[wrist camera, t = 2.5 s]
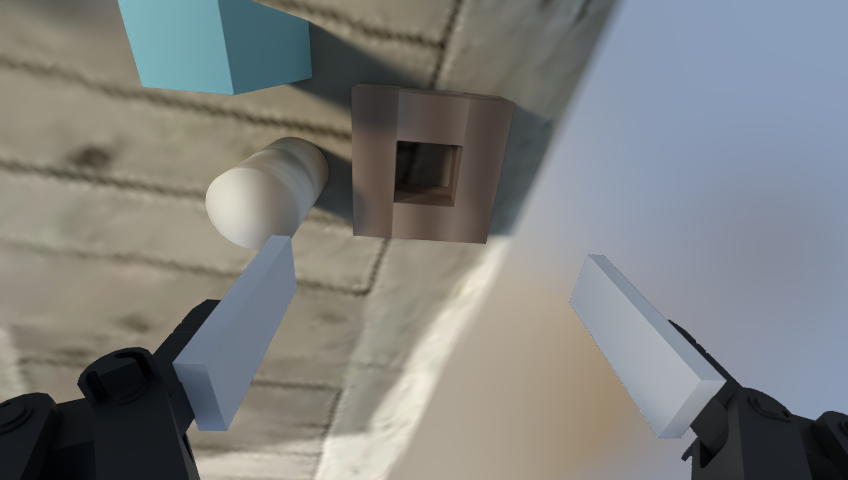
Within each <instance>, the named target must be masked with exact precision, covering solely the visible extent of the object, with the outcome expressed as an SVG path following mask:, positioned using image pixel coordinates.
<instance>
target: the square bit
mask: <svg viewBox="0 0 848 480" xmlns="http://www.w3.org/2000/svg"><path fill="white" fill-rule="evenodd" d="M117 1H118V4H119V7H120V11H121V14H122V18H123V21H124V25H125V28H126V31H127V35H128V38H129V42H130V45H131V48H132V52H133V55H134V59H135V62H136V66H137V69H138V72H139V76H140V79H141V83H142V86H143V87H153V88H164V89H174V90H185V91H196V92H207V93H218V94H228V95H236V94H241V93H246V92H250V91H255V90H259V89H264V88H269V87H273V86H278V85H282V84H287V83H292V82H296V81H301V80H305V79H310V78H312V66H311V51H310V36H309V21H307V20H304V19H302V18H299V17H296V16H293V15H290V14H287V13H285V12H282V11H279V10H276V9H273V8H270V7H267V6H265V5H262V4H259V3H256V2H253V1H250V0H117Z"/></svg>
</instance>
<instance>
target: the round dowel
mask: <svg viewBox="0 0 848 480" xmlns="http://www.w3.org/2000/svg"><path fill="white" fill-rule="evenodd" d="M328 178H329V168H328V164H327V161H326V159H325V157H324V155H323V154H322V153H321V151H320V150H319V149H318V148H317V147H316V146H315V145H313V144H312V143H310V142H308V141H306V140H304V139H301V138H297V137H285V138H281V139H279V140H277V141H275V142H273V143H272V144H270V145H269V146H267V147H265V148H264V149H262V150H261V151H259V152H257V153H256V154H254V155H253V156H251V157H249V158H248V159H246V160H244V161H243V162H241V163H240V164H238V165H236V166H235V167H233V168H232V169H230V170H228V171H227V172H225V173H224V174H222V175H220V176H219V177H217V178H216V179H215V180H214V181H213V182H212V184H211V185H210V187H209V189H208V191H207V194H206V208H207V212H208V215H209V217H210V219H211V221H212V223H213V225H214V226H215V227H216V228H217V230H218V231H219V232H220V233H221V234H222V235H223V236H225V237H226V238H227V239H228V240H230V241H231V242H233V243H235V244H237V245H239V246H241V247H244V248H247V249H252V250H259V251H260V250H261V249H262V247H263V246H264V245H265V243H266V242H267V241H268V239H269V238H270V237H271V236H272V235H279V236H291V238H292V237H293V235H294V234H295V232H296V231H297V229H298V228H299V226H300V225H301V223H302V222H303V220H304V219H305V217H306V215H307V214H308V212H309V211H310V209H311V208H312V206H313V205H314V203H315V202H316V200H317V199H318V197H319V196H320V194H321V193H322V191H323V190H324V188H325V186H326V184H327V182H328Z"/></svg>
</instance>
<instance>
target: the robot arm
mask: <svg viewBox="0 0 848 480" xmlns="http://www.w3.org/2000/svg"><path fill="white" fill-rule="evenodd" d="M296 289H297V286H296V278H295V269H294V261H293V252H292V244H291V236H279V235H272V236H271V237H270V238H269V239H268V241H267V242H266V243H265V245H264V246H263V247H262V249H261V250H260V251H259V252H258V254H257V255H256V256H255V258H254V259H253V260H252V261H251V263H250V264H249V265H248V267H247V268H246V269H245V270H244V272H243V273H242V274H241V276H240V277H239V278H238V279H237V281H236V282H235V283H234V285H233V286H232V287H231V288H230V290H229V291H228V292H227V294H226V295H225V296H224V297H223V299H222V300H210V299H207V300H205V301H204V302H202V303H201V304H199V305H198V306H196V307H195V308H193V309H192V310H191V311H190V312H189V313H188V314H187V316H186V317H185V318H184V319H183V320H182V323H180V324H179V325H178V326H177V327H176V328H175V330H174V331H173V333H171V334H170V335H169V336H168V338H167V339H166V340H165V341H164V342H163V343H162V345H161V346H160V347H159V348H158V349H157V350H156V351H155V353H154V354H153V355H152V354H151V353H150V352H149V350H147V349H144V348H141V347H132V348H125V349H121V350H117V351H114V352H111V353H109V354H107V355H105V356H103V357H101V358H99V359H98V360H96V361H95V362H93V363H92V364H90V365H89V366H88V367H87V368H86V369H85V370H84V371H83V373H82V374H81V375H80V377H79V380H78V383H77V385H78V386H79V388H80V390H81V391H82V393H83V394H84V396H85V397H86V398H82V399H77V400H73V401H68V402H64V403H59V404H56V403H55V402H54V400H53V399H52V398H51V397H50V396H49V395H48V394H46V393H39V392H36V393H30V394H23V395H20V396H18V397H15V398H12V399H9V400H6V401H4V402H3V403H1V404H0V480H200V477H199V474H198V470H197V467H196V463H195V460H194V457H193V453H192V450H191V446H190V443H189V439H188V437H187V434H186V431H187V429H188V428H189V426H190V424H191V423H192V421H193V419H195V421H196V424H197V426H198V429H199V430H211V431H227V430H228V428H229V426H230V424H231V422H232V420H233V418H234V416H235V414H236V412H237V409H238V407H239V405H240V403H241V401H242V399H243V397H244V395H245V393H246V391H247V389H248V387H249V385H250V383H251V381H252V379H253V377H254V375H255V373H256V371H257V369H258V367H259V365H260V363H261V360H262V358H263V356H264V354H265V352H266V350H267V348H268V346H269V344H270V342H271V340H272V338H273V336H274V334H275V332H276V330H277V328H278V326H279V324H280V322H281V320H282V318H283V316H284V314H285V312H286V309H287V307H288V305H289V303H290V301H291V299H292V297H293V295H294V293H295V291H296ZM570 304H571V305H572V307H573V308H574V310H575V312H576V313H577V315H578V316H579V318H580V319H581V321H582V322H583V324H584V325H585V327H586V328H587V330H588V331H589V333H590V335H591V336H592V338H593V339H594V341H595V342H596V344H597V345H598V347H599V348H600V350H601V351H602V353H603V354H604V356H605V358H606V359H607V361H608V362H609V364H610V365H611V367H612V368H613V370H614V371H615V373H616V375H617V376H618V378H619V379H620V380H621V382H622V384H623V385H624V387H625V388H626V390H627V391H628V393H629V394H630V396H631V397H632V399H633V400H634V402H635V404H636V405H637V407H638V408H639V410H640V411H641V413H642V414H643V416H644V418H645V419H646V420H647V422H648V424H649V425H650V427H651V428H652V430H653V431H654V433H655V434H656V436H657V438H681V437H682V436H683V435H684V433H685V432H686V431H687V430H688V428H689V427H691V428H692V429H693V431H694V432H695V433H696V435H697V436H698V437H697V438H696V439H695V441H694V442H693V443H692V444H691V446H690V447H689V448H688V449H687V450H686V451H685V452H684V454H683V456H682V458H681V459H682V460H684V461H686V460H687V459H688V457H689V456H692V476H691V480H848V415H845V414H843V413H839V412H834V411H827V412H825V413H823V414H822V415H821V416H820V417H819V418H818V419H817V420H816V421H814V420H811V419H807V418H804V417H800V416H797V415H794V414H791V413H790V411H788V409H786V407H785V406H783V405H782V404H781V403H779V402H778V401H777V400H775V399H774V398H772V397H770V396H768V395H767V394H765V393H763V392H760V391H758V390H755V389H752V388H744V387H742V386H741V385H740V384H739V383H738V382H737V381H736V380H735V379H734V378H733V377H732V376H731V375H730V374H729V373H728V372H727V371H726V370H725V369H724V368H723V367H722V366H721V365H720V364H719V363H718V362H717V361H716V360H715V359H714V358H713V357H712V356H711V355H710V354H709V353H706V351H705V350H704V348H703V347H702V346H701V345H699V344H697V343H696V340H695V339H694V338H692V337H691V335H690V334H688V332H686V331H685V330H684V329H683V328H681V327H680V326H678V325H677V324H675V323H674V322H672V321H671V320H666V319H665V317H664V316H663V315H662V314H661V313H660V312H659V311H658V310H657V309H656V308H655V307H654V306H653V305H652V304H651V303H650V302H649V301H648V300H647V299H646V298H645V297H644V296H643V295H642V294H641V293H640V292H639V291H638V290H637V289H636V288H635V287H634V286H633V285H632V284H631V283H630V282H629V281H628V280H627V279H626V278H625V277H624V276H623V274H622V273H621V272H620V271H619V270H617V268H616V267H614V265H613V264H612V263H611V262H610V261H609V260H608V259H607V258H606V257H605V256H604V255H603V256H602V255H587V258H586V260H585V264H584V266H583V268H582V271H581V273H580V276H579V279H578V281H577V284H576V286H575V289H574V291H573V294H572V297H571V299H570Z"/></svg>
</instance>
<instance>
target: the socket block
mask: <svg viewBox="0 0 848 480" xmlns="http://www.w3.org/2000/svg"><path fill="white" fill-rule="evenodd" d="M351 103H352V178H353V236H369V237H385V238H401V239H417V240H433V241H448V242H464V243H480V244H486V241H487V236H488V231H489V226H490V222H491V217H492V212H493V207H494V203H495V198H496V193H497V188H498V184H499V179H500V174H501V169H502V165H503V160H504V155H505V150H506V146H507V141H508V136H509V131H510V127H511V122H512V117H513V112H514V107H515V103H513V102H511V101H509V100H507V99H504V98H502V97H500V96H491V95H480V94H470V93H460V92H450V91H440V90H429V89H419V88H409V87H399V86H389V85H378V84H368V83H359V84H357V85H355V86H353V87H351ZM398 140H400V141H412V142H424V143H435V144H447V145H454V148H453V155H452V163H451V170H450V178H449V185H448V187H442V186H429V185H415V184H402V183H396V168H397V149H398Z"/></svg>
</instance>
